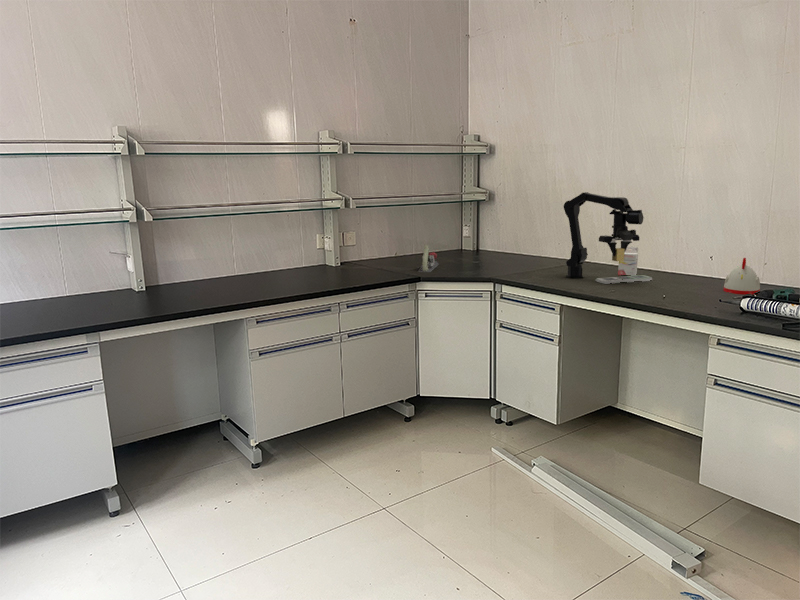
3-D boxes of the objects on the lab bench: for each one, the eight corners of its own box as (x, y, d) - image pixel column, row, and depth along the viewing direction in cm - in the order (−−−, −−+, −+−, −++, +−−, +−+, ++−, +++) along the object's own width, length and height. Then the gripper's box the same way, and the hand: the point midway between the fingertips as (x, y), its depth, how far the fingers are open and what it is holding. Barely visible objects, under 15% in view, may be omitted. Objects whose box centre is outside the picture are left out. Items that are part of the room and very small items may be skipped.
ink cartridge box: (617, 275, 309) (619, 247, 306) (619, 274, 313) (621, 246, 310) (634, 276, 304) (636, 248, 301) (636, 275, 308) (638, 247, 305)
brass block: (616, 261, 287) (617, 249, 286) (612, 260, 291) (612, 248, 290) (624, 260, 288) (624, 248, 287) (619, 259, 292) (620, 247, 291)
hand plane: (417, 272, 333) (417, 246, 330) (427, 264, 363) (427, 240, 360) (430, 272, 332) (429, 246, 329) (439, 264, 361) (438, 240, 358)
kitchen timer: (721, 292, 261) (725, 259, 257) (725, 287, 272) (728, 255, 269) (758, 295, 253) (762, 261, 250) (760, 290, 264) (764, 256, 261)
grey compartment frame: (604, 283, 286) (604, 280, 286) (595, 281, 294) (595, 277, 294) (652, 280, 292) (652, 277, 291) (642, 278, 299) (642, 274, 299)
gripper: (611, 225, 276) (609, 259, 280) (647, 224, 280) (645, 256, 283) (598, 224, 287) (597, 256, 290) (633, 222, 291) (632, 254, 294)
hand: (618, 255), depth 289 cm, fingers closed on brass block, 4 cm apart
